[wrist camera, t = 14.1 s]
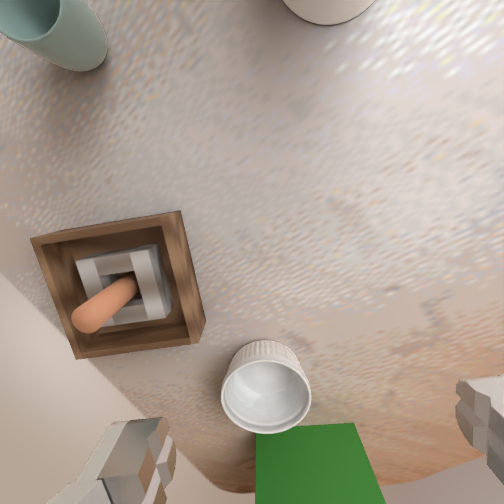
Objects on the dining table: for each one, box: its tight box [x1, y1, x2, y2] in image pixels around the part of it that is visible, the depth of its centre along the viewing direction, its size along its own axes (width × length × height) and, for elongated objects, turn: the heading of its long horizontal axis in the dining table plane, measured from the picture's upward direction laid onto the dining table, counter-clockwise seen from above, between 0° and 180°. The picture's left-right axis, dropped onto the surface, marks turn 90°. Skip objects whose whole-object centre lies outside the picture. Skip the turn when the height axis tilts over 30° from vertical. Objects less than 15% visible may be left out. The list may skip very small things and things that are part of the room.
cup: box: [0, 0, 107, 71], centre depth 29 cm, size 8×8×10 cm
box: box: [30, 211, 206, 360], centre depth 39 cm, size 18×18×6 cm
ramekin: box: [221, 340, 311, 434], centre depth 43 cm, size 13×13×7 cm
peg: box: [71, 271, 140, 333], centre depth 35 cm, size 3×3×12 cm
